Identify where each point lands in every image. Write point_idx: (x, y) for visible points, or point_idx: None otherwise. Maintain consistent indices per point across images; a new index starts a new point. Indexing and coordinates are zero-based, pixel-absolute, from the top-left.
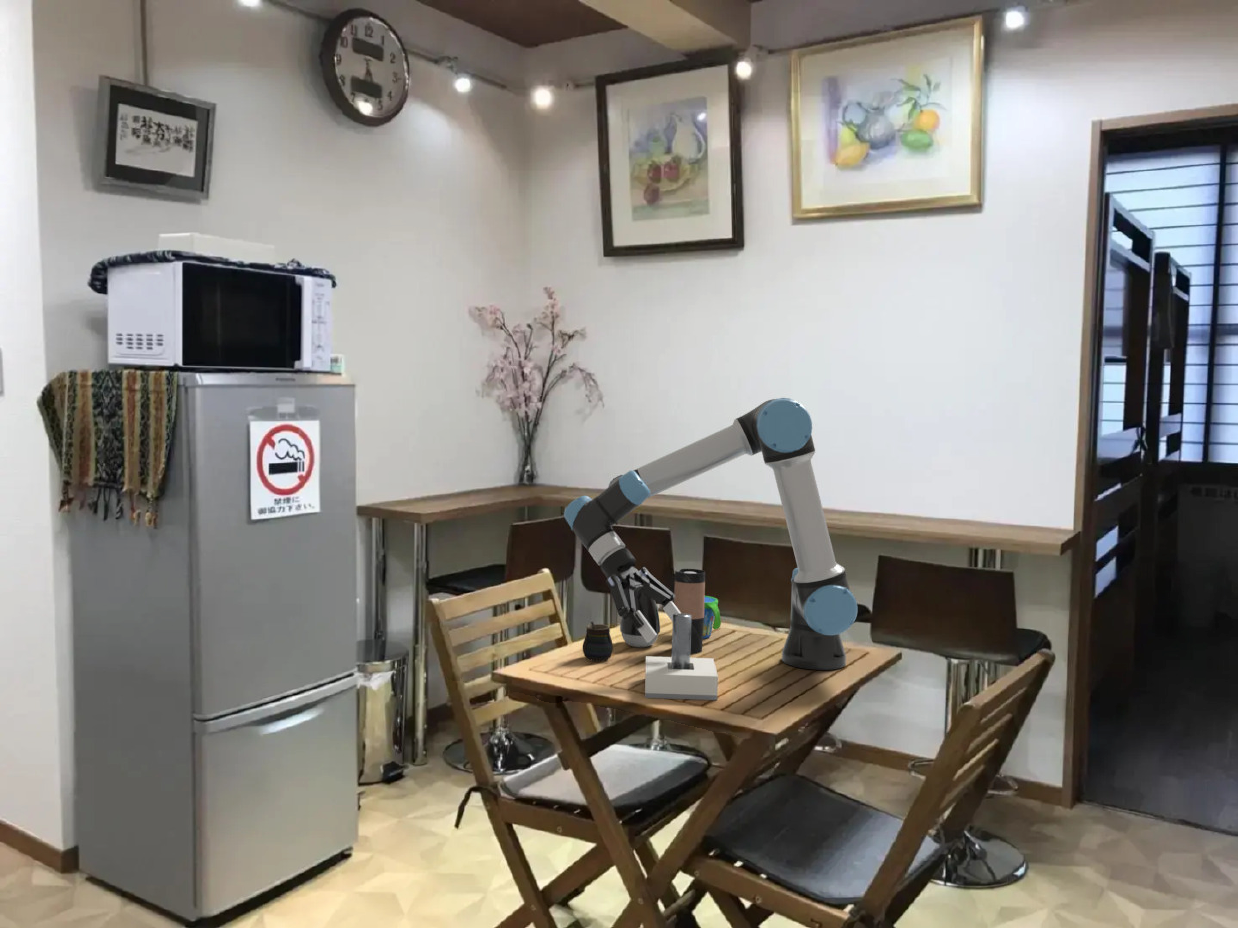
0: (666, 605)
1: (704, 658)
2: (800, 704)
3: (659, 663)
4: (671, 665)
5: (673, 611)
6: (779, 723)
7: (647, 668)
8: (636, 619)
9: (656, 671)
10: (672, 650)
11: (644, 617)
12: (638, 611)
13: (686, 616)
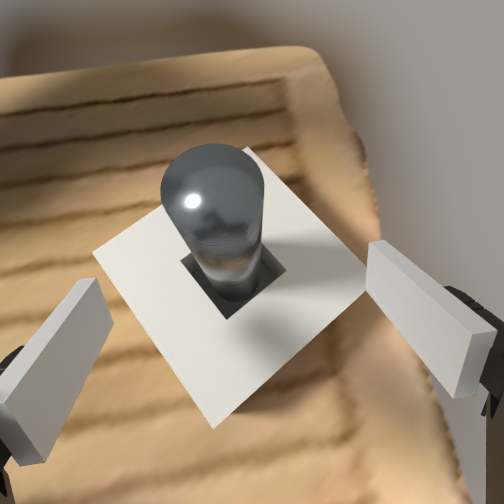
0: (30, 431)
1: (108, 270)
2: (160, 77)
3: (256, 328)
4: (253, 283)
5: (57, 363)
6: (279, 53)
7: (329, 315)
8: (485, 314)
9: (333, 275)
10: (256, 266)
11: (431, 295)
12: (487, 324)
13: (224, 154)
